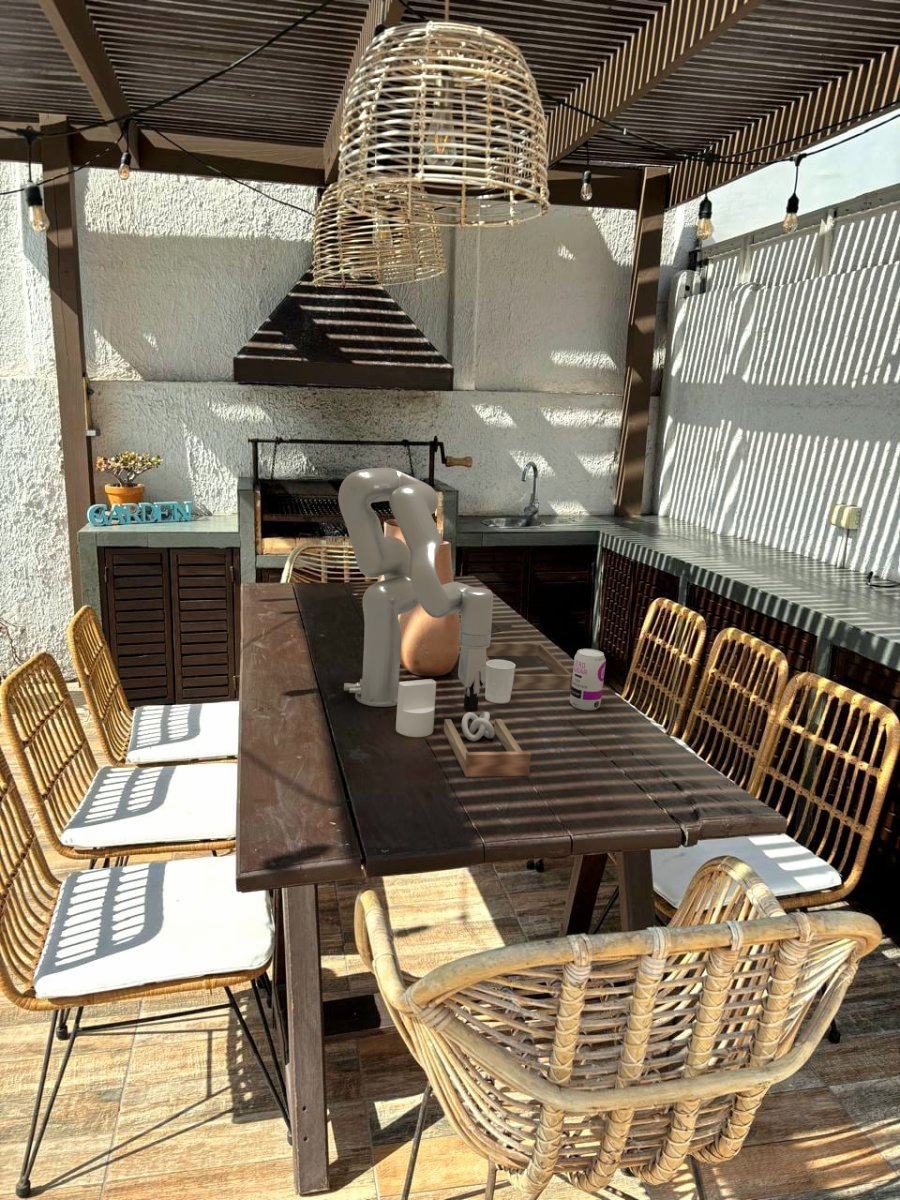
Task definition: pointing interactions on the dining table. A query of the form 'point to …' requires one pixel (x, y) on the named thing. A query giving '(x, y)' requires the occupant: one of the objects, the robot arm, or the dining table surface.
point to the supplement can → (587, 679)
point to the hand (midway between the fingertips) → (470, 710)
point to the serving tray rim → (556, 681)
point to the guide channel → (490, 754)
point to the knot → (477, 726)
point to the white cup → (499, 680)
